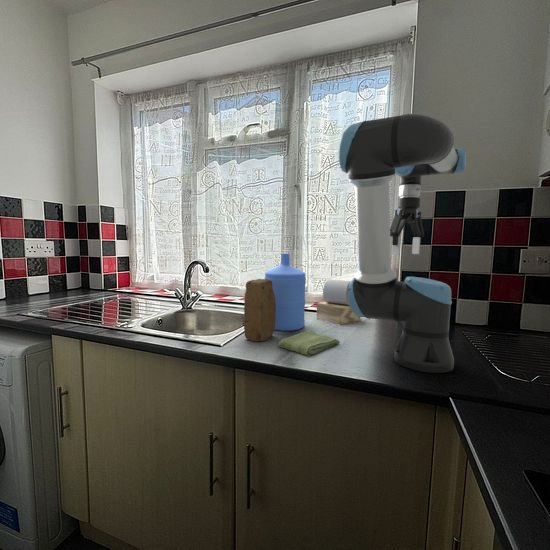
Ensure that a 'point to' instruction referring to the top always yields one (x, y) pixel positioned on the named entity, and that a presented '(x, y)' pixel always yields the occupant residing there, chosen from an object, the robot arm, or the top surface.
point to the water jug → (288, 295)
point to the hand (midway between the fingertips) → (406, 254)
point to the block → (259, 310)
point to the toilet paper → (336, 291)
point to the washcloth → (308, 342)
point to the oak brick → (336, 313)
